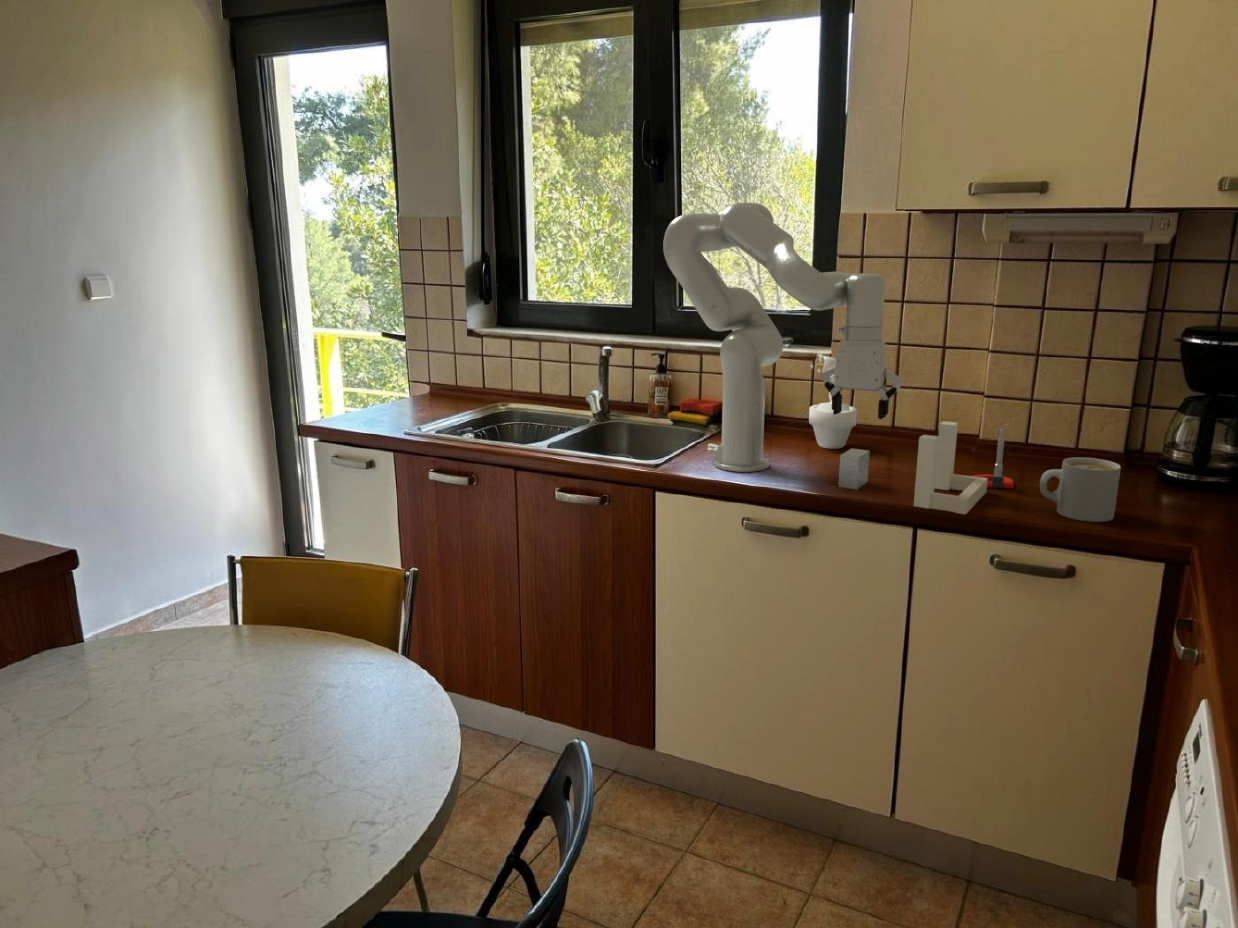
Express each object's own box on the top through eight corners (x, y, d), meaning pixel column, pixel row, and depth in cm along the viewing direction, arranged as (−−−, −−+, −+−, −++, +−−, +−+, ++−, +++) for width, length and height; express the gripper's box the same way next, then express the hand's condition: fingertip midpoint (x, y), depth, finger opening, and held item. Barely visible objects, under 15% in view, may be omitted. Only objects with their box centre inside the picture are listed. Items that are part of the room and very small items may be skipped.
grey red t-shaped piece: (967, 478, 204) (976, 488, 195) (972, 421, 201) (982, 428, 192) (1006, 480, 202) (1018, 490, 193) (1012, 422, 200) (1024, 430, 191)
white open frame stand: (913, 506, 182) (919, 437, 179) (937, 484, 197) (943, 421, 193) (965, 514, 177) (972, 444, 174) (986, 492, 192) (993, 426, 188)
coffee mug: (1115, 510, 179) (1122, 461, 177) (1112, 524, 171) (1119, 473, 168) (1040, 500, 186) (1046, 452, 183) (1034, 513, 178) (1040, 463, 175)
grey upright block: (838, 486, 196) (840, 455, 194) (849, 479, 202) (851, 448, 200) (856, 489, 194) (858, 457, 192) (867, 481, 200) (869, 450, 198)
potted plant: (799, 442, 235) (804, 345, 229) (841, 439, 238) (847, 343, 231) (821, 454, 223) (827, 351, 217) (865, 451, 226) (872, 350, 220)
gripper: (816, 334, 191) (813, 414, 195) (899, 338, 182) (894, 423, 186) (829, 330, 197) (826, 409, 201) (910, 334, 188) (905, 416, 192)
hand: (859, 415), depth 194 cm, fingers open, 9 cm apart
